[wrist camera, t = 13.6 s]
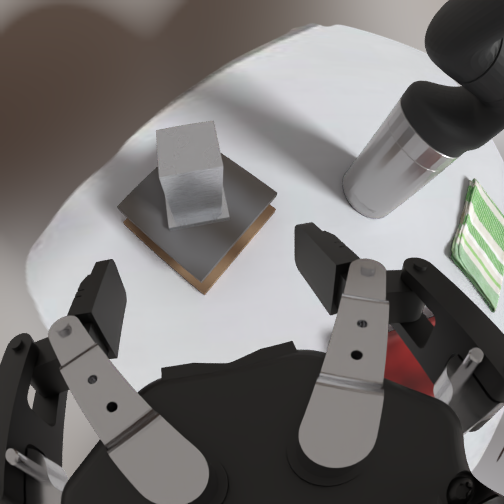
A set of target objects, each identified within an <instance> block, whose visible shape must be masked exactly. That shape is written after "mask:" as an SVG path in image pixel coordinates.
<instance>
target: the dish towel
mask: <svg viewBox="0 0 504 504" xmlns="http://www.w3.org/2000/svg"><path fill="white" fill-rule="evenodd" d="M469 182H470V183H469V187H468V191H467V195H466V201H465V206H464V209H463V212H462V215H461V221H460V224H459V227H458V229H457V232H456V234H455V237H454V240H453V245H452V249H451V250H452V255H451V259H452V260H453V261H454V262H455V264H456V265H457V266H458V267H459V268H460V269H461V271H462V272H463V273H464V274H465V275H466V277H467V278H468V279H469V280H470V281H471V282H472V284H473V285H474V286H475V287H476V288H477V290H478V291H479V292H480V293H481V294H482V296H483V297H484V298H485V299H486V300H484V299H483V300H484V301H485V303H486V304H487V302H488V303H489V305H490V306H489V308H490V310H491V311H492V312H495V310H496V307H497V303H498V298H499V293H500V289H501V284H502V279H503V273H504V215H503V214H502V212H501V211H500V209H499V208H498V207H497V206H496V204H495V203H494V202H493V200H492V199H491V198H490V196H489V195H488V194H487V193H486V191H485V190H484V189H483V187H482V186H481V185H480V184H479V182H478V181H477V180H476V179H475V178H474V179H473V180H472V181H469ZM486 301H487V302H486ZM487 305H488V304H487Z"/></svg>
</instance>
